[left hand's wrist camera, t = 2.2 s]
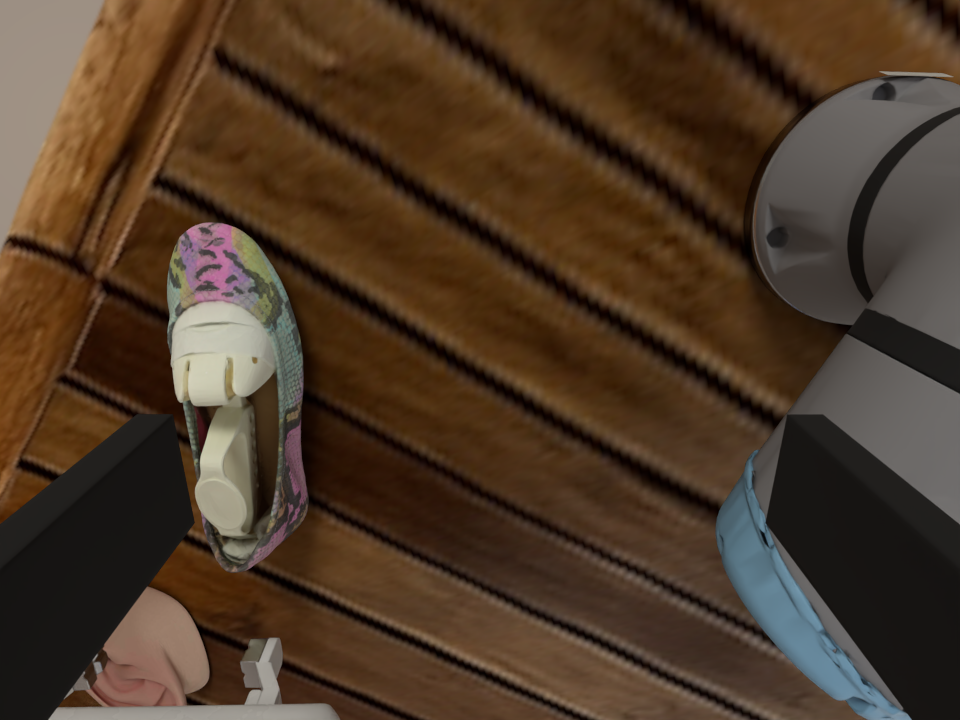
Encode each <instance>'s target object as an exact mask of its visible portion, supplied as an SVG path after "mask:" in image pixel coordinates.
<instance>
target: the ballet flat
mask: <svg viewBox="0 0 960 720" xmlns="http://www.w3.org/2000/svg"><path fill="white" fill-rule="evenodd" d="M167 300H168V306H169V312H170V320H169V325H168V344H169V349H170V354H171V356H172V357H171V366H172V368H173V379H174V386H175V392H176V396H177V399H178V401H179V402H181V403H182V402H183V406H184V411H185V416H186V422H187V427H188V432H189V436H190V442H191V448H192V453H193V459H194V465H195V472H196V476H197V482H198V483H197V485H196V488H195V496H196V501H197V504H198V506H199V509H200V511H201V514H202V522H203V526H204V531H205V534H206V537H207V540H208V543H209V545H210V546H211V549H212V551H213V553H214V555H215V558H216V560H217V561H218V563H219V564H220V565H221V567H222V568H223V569H225V570H226V571H228V572H231V573H236V572H242V571H245V570H247V569H249V568H251V567H252V566H254V565H255V564H257V563H258V562H260V561H261V560H263V559H264V558H266V557H267V556H268V555H269V554H270V553H271V552H272V551H273V550H274V549H275V548H276V547H277V546H278V545H279V544H281V543H282V542H283V541H284V540H285V539H286V538H287V537H289V536H290V535H291V534H292V533H293V532H294V531H295V530H296V529H297V528H298V527H299V525H300V524H301V522H302V521H303V520H304V517H305V515H306V513H307V510H308V503H309V500H308V492H307V487H306V481H305V474H304V470H303V463H302V454H301V406H302V397H303V354H302V346H301V341H300V335H299V331H298V327H297V323H296V320H295V316H294V313H293V310H292V307H291V304H290V301H289V299H288V296H287V293H286V291H285V289H284V287H283V284H282V282H281V280H280V278H279V276H278V275H277V273H276V271H275V269H274V268H273V266H272V264H271V263H270V262H269V260H268V259H267V257H266V256H265V254H264V253H263V251H262V250H261V249H260V247H259V246H258V245H257V244H256V242H255V241H254V240H252V239H251V238H250V237H249V236H248V235H247V234H245V233H244V232H242V231H241V230H239V229H237V228H235V227H232V226H229V225H226V224H222V223H202V224H199V225H196V226H194V227H192V228H190V229H189V230H187V231H186V232H185V233H184V234H183V235H182V236H181V237H180V238H179V240H178V242H177V244H176V246H175V248H174V251H173V255H172V258H171V262H170V265H169V272H168V284H167Z"/></svg>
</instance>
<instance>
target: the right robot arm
mask: <svg viewBox="0 0 960 720" xmlns="http://www.w3.org/2000/svg"><path fill="white" fill-rule="evenodd" d="M248 647H249V649H247V650H246V651H245V652H244V655H243V657H242V659H241V662H240V663H241V668H242V672H243V673H244V674H245V676H244V682H245V687H250V688H261V690H252V691H250V693H249V695H248V697H247V700H246V702H245V705H196V706H130V707H63V708H57V709H56V710H55V711H54V713H53V714H52V715H51V717H50V718H49V719H48V720H340V718H339V716H338V715H337V713H336V712H335V710H334V709H333V708H332V707H331V706H330V705H328V704H322V703H315V704H282V700H281V695H280V689H279V686H278V683H277V680H276V679H277V676H278V673H279V670H280V668H281V665H282V658H283V652H282V647H281V641H280V638H252V639H251V640H250V641H249V643H248ZM103 648H104V645H103V647H102V648H101V650H100V651H99V652H98V654H97V655H96V656H95V658H94V659H93V660H92V662H91V663H90V664H89V666H88V667H87V668H86V670H85V671H84V672H83V674H82V675H81V676H80V678H79V679H78V680H77V682H76V683H75V684H74V686H73V687H72V689H71V690H70V691H69V693H68V694H67V695H66V697H67V696H68V695H70V694H71V693H72V692H73V691H74V690H90V689H91V687H92V686H93V685H94V683H95V682H96V680H97V675H98V674H100V673H101V672H102V671H103V670H104V668H105V667H106V664H107V661H108V655H107V652H106V651H104V650H103ZM66 697H65V698H66ZM65 698H64V699H65Z"/></svg>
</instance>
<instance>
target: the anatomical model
mask: <svg viewBox="0 0 960 720" xmlns="http://www.w3.org/2000/svg"><path fill="white" fill-rule="evenodd" d="M103 650H104V651H106V652H107V655H108V661H107V664H106V667H105V668H104V670H103V671H102V672H101V673H100V674H98V675H97V680H96V682H95V683H94V685H93V686H92V687H91V689H90V690H86V691H87V692H88V693H89V694H90V695H91V696H92V697H93V698H94V699H95V700H96V701H97V702H98V703H100V704H101V705H102V706H103V707H130V706H187V704H186V696H185V694H188V693H191V692H194V691H197V690H199V689H200V688H202V687H203V686H205V684H206V683H207V682H208V679H209V672H210V671H209V663H208V659H207V655H206V652H205V648H204V645H203V642H202V640H201V637H200V634H199V632H198V630H197V628H196V625H195V623H194V622H193V620H192V618H191V616H190V615H189V613H188V612H187V611H186V609H185V608H184V607H183V606H182V605H181V604H180V603H179V602H178V601H176V600H175V599H174V598H172V597H171V596H169V595H167V594H165V593H163V592H161V591H158V590H156V589H154V588H151V587H148V586H147V588H146V589H145V590H144V592H143V593H142V594H141V596H140V597H139V598H138V600H137V601H136V602H135V604H134V605H133V606H132V608H131V609H130V610H129V612H128V613H127V615H126V616H125V617H124V619H123V620H122V621H121V623H120V624H119V625H118V627H117V628H116V629H115V631H114V632H113V633H112V635H111V636H110V637H109V639H108V640H107V641H106V643H105V644H104V648H103Z"/></svg>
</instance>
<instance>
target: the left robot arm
mask: <svg viewBox="0 0 960 720" xmlns="http://www.w3.org/2000/svg"><path fill="white" fill-rule="evenodd" d="M879 72H882V73H884V74H887V75H890V76H883V77H877V78H870V79H866V80H861V81H857V82H854V83H851V84H848V85H845V86H843V87H841V88H838V89H836V90H834V91H832V92H830V93H828V94H826V95H824V96H823V97H821V98H819V99H818V100H816V101H815V102H813V103H812V104H810V105H809V106H808V107H806V108H805V109H804V110H803V111H801V112H800V113H799V114H798V115H797V116H796V117H795V118H793V119H792V120H791V121H790V122H789V123H788V124H787V125H786V127H785V128H784V129H783V130H782V131H781V132H780V133H779V135H778V136H777V137H776V138H775V140H774V141H773V142H772V144H771V145H770V147H769V148H768V150H767V151H766V153H765V155H764V156H763V158H762V160H761V162H760V164H759V166H758V168H757V170H756V173H755V175H754V177H753V180H752V183H751V186H750V190H749V194H748V198H747V203H746V210H745V238H746V244H747V249H748V252H749V256H750V259H751V261H752V264H753V266H754V268H755V270H756V272H757V274H758V276H759V277H760V279H761V280H762V282H763V283H764V284H765V286H766V287H767V288H768V289H769V290H770V291H771V292H772V293H773V294H774V295H775V296H776V297H777V298H779V299H780V300H782V301H783V302H784V303H786V304H788V305H789V306H791V307H793V308H795V309H797V310H799V311H800V312H802V313H804V314H806V315H808V316H811V317H813V318H816V319H819V320H823V321H827V322H832V323H839V324H846V325H852V327H851V328H850V330H849V331H848V332H847V333H848V334H849V335H848V334H845V336H844V337H843V338H842V340H841V341H840V342H839V344H838V345H837V346H836V348H835V349H834V350H833V352H832V353H831V354H830V356H829V357H828V358H827V360H826V361H825V363H824V364H823V365H822V367H821V368H820V369H819V371H818V372H817V373H816V375H815V376H814V377H813V379H812V380H811V381H810V383H809V384H808V385H807V387H806V388H805V389H804V391H803V392H802V393H801V395H800V396H799V398H798V399H797V400H796V402H795V403H794V404H793V406H792V407H791V408H790V410H789V411H788V412H787V414H786V415H785V416H784V418H783V419H782V420H781V422H780V423H779V424H778V426H777V427H776V429H775V430H774V431H773V433H772V434H771V435H770V437H769V438H768V439H767V441H766V442H765V443H764V445H763V446H762V447H761V449H760V450H755V451H754V452H753V453H752V454H751V455H750V456H749V458H748V460H747V462H746V464H745V471H744V473H743V474H742V476H741V477H740V479H739V480H738V482H737V483H736V485H735V486H734V488H733V489H732V491H731V493H730V494H729V496H728V497H727V499H726V500H725V502H724V503H723V505H722V507H721V508H720V511H719V513H718V517H717V521H716V539H717V545H718V549H719V552H720V554H721V556H722V563H723V565H724V568H725V571H726V573H727V575H728V577H729V579H730V581H731V583H732V585H733V587H734V588H735V590H736V592H737V594H738V595H739V597H740V599H741V600H742V602H743V603H744V605H745V606H746V608H747V609H748V611H749V612H750V613H751V615H752V616H753V618H754V619H755V620H756V621H757V623H758V624H759V625H760V627H761V628H762V629H763V630H764V632H765V633H766V634H767V635H768V636H769V638H770V639H771V640H772V641H773V642H774V643H775V645H776V646H777V647H778V648H779V649H780V650H781V651H782V652H783V653H784V654H785V655H786V657H787V658H788V659H789V660H790V661H791V662H792V663H793V664H794V665H795V666H796V667H797V668H798V669H799V670H800V671H801V672H802V673H803V674H805V675H806V676H807V677H808V678H809V679H810V680H811V681H812V682H814V683H815V684H816V685H817V686H818V687H820V688H821V689H822V690H823V691H825V692H826V693H827V694H829V695H830V696H831V697H833V698H834V699H836V700H845V701H846V702H847V703H848V704H849V706H850V707H851V708H852V709H853V710H854V712H855V713H856V714H858V715H860V716H862V717H864V718H866V719H868V720H960V85H958V84H955V83H953V82H950V81H947V80H944V79H940V78H935V77H930V76H938V77H953V76H950V75H947V74H943V73H916V72H883V71H879ZM887 354H888V355H887ZM889 355H890V356H889ZM891 356H892V357H891ZM893 357H894V358H893ZM895 358H896V359H895ZM897 359H898V360H897ZM899 360H900V361H899ZM914 368H915V369H914ZM916 369H917V370H916ZM918 370H919V371H918ZM194 523H195V522H194V517H193V512H192V507H191V502H190V497H189V492H188V487H187V482H186V477H185V472H184V467H183V462H182V457H181V452H180V448H179V443H178V438H177V433H176V428H175V423H174V418H173V414H137V415H136V416H134V417H133V418H132V419H131V420H129V421H128V422H127V423H126V424H124V425H123V426H122V427H121V428H119V429H118V430H117V431H116V432H114V433H113V434H112V435H111V436H110V437H108V438H107V439H106V440H105V441H103V442H102V443H101V444H100V445H98V446H97V447H96V448H95V449H93V450H92V451H91V452H90V453H88V454H87V455H86V456H85V457H83V458H82V459H81V460H80V461H78V462H77V463H76V464H75V465H73V466H72V467H71V468H70V469H68V470H67V471H66V472H65V473H63V474H62V475H61V476H60V477H58V478H57V479H56V480H55V481H53V482H52V483H51V484H50V485H49V486H47V487H46V488H45V489H44V490H42V491H41V492H40V493H39V494H37V495H36V496H35V497H34V498H32V499H31V500H30V501H29V502H27V503H26V504H25V505H24V506H22V507H21V508H20V509H19V510H17V511H16V512H15V513H14V514H12V515H11V516H10V517H9V518H7V519H6V520H5V521H4V522H2V523H1V524H0V720H48V719H49V718H50V717H51V715H52V714H53V713H54V711H55V710H56V709H57V707H58V706H59V705H60V703H61V702H62V701H63V699H64V698H65V697H66V695H67V694H68V693H69V691H70V690H71V689H72V687H73V686H74V684H75V683H76V682H77V680H78V679H79V678H80V676H81V675H82V674H83V672H84V671H85V670H86V668H87V667H88V666H89V664H90V663H91V662H92V660H93V659H94V658H95V656H96V655H97V654H98V652H99V651H100V650H101V648H102V647H103V645H104V644H105V643H106V641H107V640H108V639H109V637H110V636H111V635H112V633H113V632H114V631H115V629H116V628H117V627H118V625H119V624H120V623H121V621H122V620H123V619H124V617H125V616H126V615H127V613H128V612H129V610H130V609H131V608H132V606H133V605H134V604H135V602H136V601H137V600H138V598H139V597H140V596H141V594H142V593H143V592H144V590H145V589H146V588H147V586H148V585H149V584H150V582H151V581H152V580H153V578H154V577H155V576H156V574H157V573H158V571H159V570H160V569H161V567H162V566H163V565H164V563H165V562H166V561H167V559H168V558H169V557H170V555H171V554H172V553H173V551H174V550H175V549H176V547H177V546H178V545H179V543H180V542H181V541H182V539H183V538H184V536H185V535H186V534H187V532H188V531H189V530H190V528H191V527H192V526H193V524H194Z"/></svg>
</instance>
